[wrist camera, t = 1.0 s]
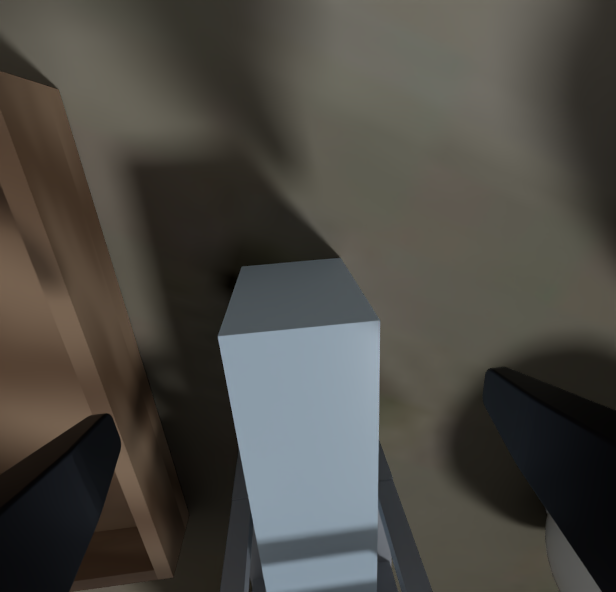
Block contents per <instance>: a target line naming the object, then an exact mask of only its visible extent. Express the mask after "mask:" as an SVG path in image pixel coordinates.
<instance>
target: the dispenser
mask: <svg viewBox="0 0 616 592" xmlns="http://www.w3.org/2000/svg"><path fill="white" fill-rule="evenodd" d="M391 556H392V559H393V563H394V566H395V570H396V573H397V577H398V580H399V584H400V587H401V591H402V592H433V591H432V589H431V586H430V583H429V580H428V577H427V575H426V572H425V569H424V566H423V563H422V561H421V558H420V555H419V552H418V549H417V546H416V544H415V541H414V538H413V535H412V532H411V530H410V527H409V524H408V521H407V518H406V516H405V513H404V510H403V507H402V504H401V502H400V499H399V496H398V493H397V490H396V488H395V485H394V482H393V477H392V475H391V472H390V469H389V466H388V463H387V461H386V458H385V455H384V452H383V449H382V447H381V444H380V441H379V454H378V541H377V592H398V591H397V587H396V583H395V580H394V576H393V572H392V569H391ZM249 578H250V580H251V584H252V592H266V587H265V582H264V577H263V572H262V566H261V561H260V556H259V551H258V545H257V540H256V535H255V530H254V524H253V519H252V514H251V509H250V503H249V498H248V493H247V488H246V482H245V477H244V472H243V467H242V461H241V456H240V451H239V450H238V457H237V465H236V472H235V479H234V487H233V494H232V506H231V513H230V521H229V528H228V535H227V543H226V550H225V557H224V565H223V572H222V580H221V587H220V592H249Z"/></svg>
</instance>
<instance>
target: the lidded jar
mask: <svg viewBox="0 0 616 592" xmlns="http://www.w3.org/2000/svg"><path fill="white" fill-rule="evenodd" d="M546 512H547V520H546V528H545V543H546V550H547V557H548V561H549V565H550V568H551V572H552V575H553V578H554V580H555V582H556V585H557V587H558V589H559V592H602V591H601V590H600V588H599V587H598V585H597V584H596V582H595V581H594V579H593V578H592V576H591V575H590V574H589V572H588V571H587V569H586V568H585V566H584V565H583V563H582V562H581V560H580V559H579V557H578V556H577V554H576V553H575V551H574V550H573V548H572V547H571V545H570V544H569V542H568V541H567V539H566V538H565V536H564V535H563V533H562V532H561V530H560V529H559V527H558V526H557V524H556V523H555V521H554V520H553V518H552V517H551V515H550V514H549V512H548V511H547V510H546Z"/></svg>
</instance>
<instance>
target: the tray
mask: <svg viewBox="0 0 616 592" xmlns="http://www.w3.org/2000/svg"><path fill="white" fill-rule="evenodd" d="M103 413H108V414H110V415H111V416H112V418H113V420H114V423H115V425H116V428H117V431H118V434H119V436H120V439H121V451H120V454H119V458H118V461H117V464H116V467H115V471H114V474H113V477H112V480H111V484H110V487H109V490H108V493H107V497H106V500H105V503H104V507H103V509H102V512H101V515H100V518H99V521H98V523H97V526H96V529H95V531H94V533H93V536H92V538H91V541H90V543H89V546H88V548H87V550H86V553H85V555H84V558H83V560H82V562H81V565H80V567H79V570H78V572H77V574H76V577H75V579H74V582H73V584H72V586H71V589H70V591H69V592H73V591H80V590H88V589H95V588H102V587H109V586H116V585H124V584H131V583H138V582H145V581H152V580H160V579H167V578H174V574H175V570H176V566H177V562H178V558H179V554H180V550H181V546H182V542H183V538H184V534H185V530H186V526H187V522H188V518H189V512H188V509H187V506H186V503H185V499H184V496H183V493H182V490H181V486H180V483H179V480H178V477H177V473H176V470H175V467H174V464H173V460H172V457H171V454H170V451H169V447H168V444H167V441H166V438H165V434H164V431H163V428H162V425H161V421H160V418H159V415H158V411H157V408H156V405H155V402H154V398H153V395H152V392H151V389H150V385H149V382H148V379H147V376H146V372H145V369H144V366H143V363H142V359H141V356H140V353H139V350H138V346H137V343H136V340H135V337H134V333H133V330H132V327H131V324H130V320H129V317H128V314H127V311H126V307H125V304H124V301H123V298H122V294H121V291H120V288H119V285H118V281H117V278H116V275H115V272H114V268H113V265H112V262H111V258H110V255H109V252H108V249H107V245H106V242H105V239H104V236H103V232H102V229H101V226H100V223H99V219H98V216H97V213H96V210H95V206H94V203H93V200H92V197H91V193H90V190H89V187H88V184H87V180H86V177H85V174H84V171H83V167H82V164H81V161H80V158H79V154H78V151H77V148H76V145H75V141H74V138H73V135H72V132H71V128H70V125H69V122H68V119H67V115H66V112H65V109H64V105H63V102H62V99H61V96H60V92H59V90H58V89H55V88H52V87H49V86H46V85H43V84H39V83H36V82H33V81H30V80H27V79H24V78H20V77H17V76H14V75H11V74H8V73H5V72H2V71H0V474H2V473H3V472H5V471H6V470H8V469H9V468H11V467H12V466H14V465H15V464H17V463H18V462H20V461H21V460H23V459H24V458H26V457H27V456H29V455H30V454H32V453H33V452H35V451H36V450H38V449H39V448H41V447H42V446H44V445H45V444H47V443H49V442H50V441H52V440H53V439H55V438H56V437H58V436H59V435H61V434H62V433H64V432H65V431H67V430H68V429H70V428H71V427H73V426H74V425H76V424H77V423H79V422H80V421H82V420H83V419H85V418H86V417H88V416H90V415H94V414H103Z"/></svg>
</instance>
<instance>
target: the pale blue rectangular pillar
mask: <svg viewBox="0 0 616 592" xmlns="http://www.w3.org/2000/svg"><path fill="white" fill-rule="evenodd" d="M218 341H219V346H220V351H221V356H222V362H223V367H224V372H225V377H226V383H227V388H228V393H229V398H230V404H231V409H232V414H233V419H234V425H235V430H236V435H237V440H238V446H239V451H240V456H241V461H242V467H243V472H244V477H245V482H246V488H247V493H248V498H249V503H250V509H251V514H252V519H253V524H254V530H255V535H256V540H257V545H258V551H259V556H260V561H261V566H262V572H263V577H264V582H265V587H266V592H377V541H378V454H379V366H380V320H379V318H378V316H377V315H376V313H375V312H374V310H373V308H372V307H371V305H370V304H369V302H368V300H367V299H366V297H365V296H364V294H363V293H362V291H361V289H360V288H359V286H358V285H357V283H356V281H355V280H354V278H353V277H352V275H351V273H350V272H349V270H348V269H347V267H346V265H345V264H344V262H343V261H342V259H341V258H332V259H321V260H309V261H298V262H287V263H276V264H264V265H253V266H242V267H241V270H240V273H239V276H238V279H237V282H236V284H235V287H234V290H233V293H232V296H231V299H230V302H229V305H228V308H227V311H226V314H225V316H224V319H223V322H222V325H221V328H220V331H219V334H218Z"/></svg>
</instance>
